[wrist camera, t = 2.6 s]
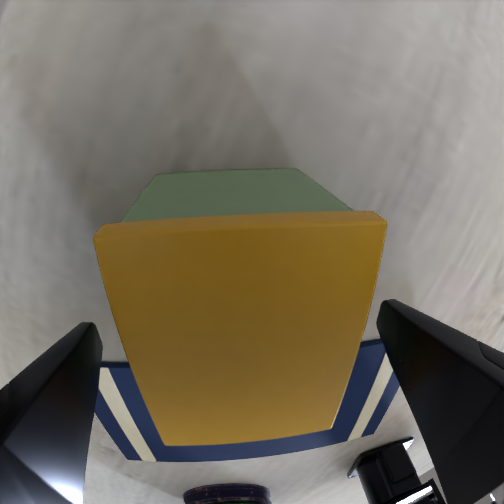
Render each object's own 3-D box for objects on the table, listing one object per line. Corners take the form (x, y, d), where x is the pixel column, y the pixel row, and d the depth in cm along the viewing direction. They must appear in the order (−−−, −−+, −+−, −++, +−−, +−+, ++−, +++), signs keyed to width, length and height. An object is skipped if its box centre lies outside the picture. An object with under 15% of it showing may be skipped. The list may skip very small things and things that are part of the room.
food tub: (292, 322, 15) (332, 429, 9) (173, 330, 14) (164, 446, 8) (303, 163, 11) (389, 220, 6) (149, 169, 11) (90, 236, 5)
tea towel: (372, 430, 22) (373, 434, 22) (127, 455, 20) (127, 460, 19) (419, 329, 17) (423, 334, 16) (69, 360, 14) (67, 365, 14)
